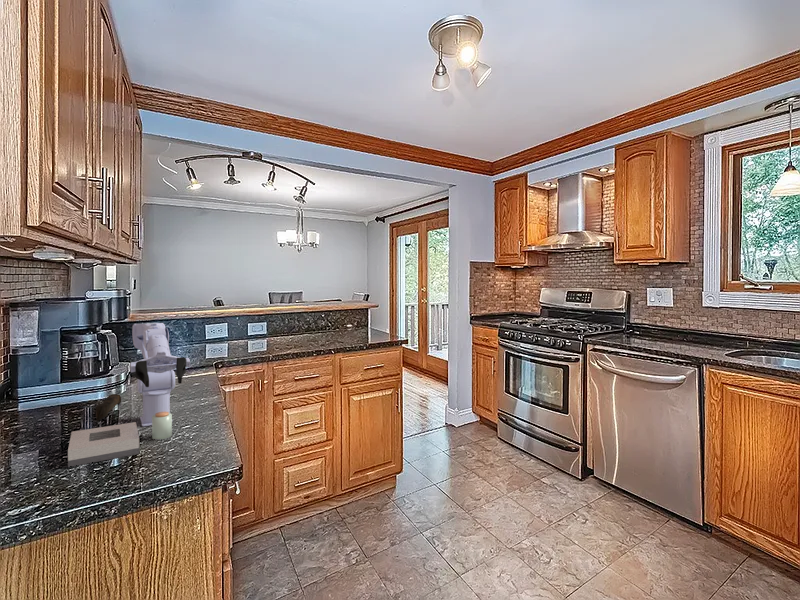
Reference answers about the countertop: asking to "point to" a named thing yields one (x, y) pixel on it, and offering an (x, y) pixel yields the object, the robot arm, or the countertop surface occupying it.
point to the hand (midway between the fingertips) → (164, 382)
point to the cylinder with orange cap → (161, 425)
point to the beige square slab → (103, 444)
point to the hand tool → (107, 406)
